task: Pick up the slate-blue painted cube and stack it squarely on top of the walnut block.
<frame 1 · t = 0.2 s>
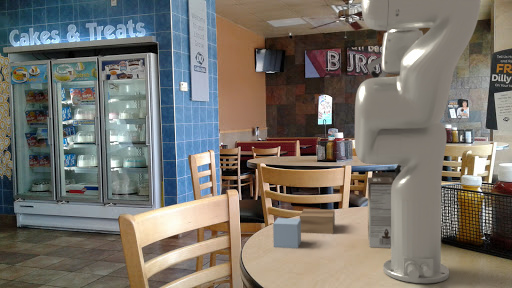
hand: (402, 96, 113), 36 cm above the table, tool pointing down, fingers open, 9 cm apart
coffee box: (381, 243, 114), on the table
walnut block: (317, 230, 128), on the table
slate cube: (287, 244, 114), on the table
coffeepot: (413, 215, 144), on the table
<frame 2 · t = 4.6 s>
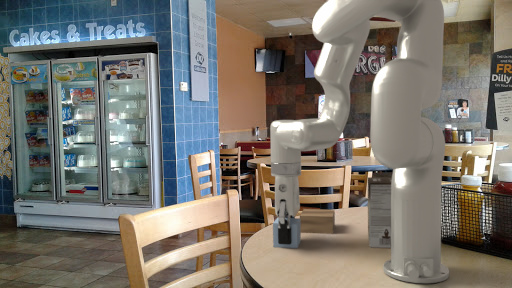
hand: (287, 239, 114), 1 cm above the table, tool pointing down, fingers closed on slate cube, 6 cm apart
slate cube: (287, 244, 114), on the table, touching gripper
everything else where it was.
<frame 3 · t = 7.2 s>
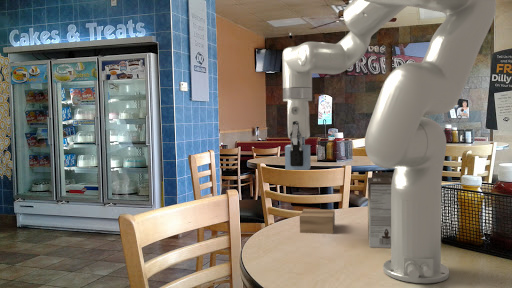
hand: (298, 163, 118), 20 cm above the table, tool pointing down, fingers closed on slate cube, 6 cm apart
slate cube: (298, 168, 118), point 18 cm above the table, touching gripper
everything else where it was.
when the fingers open (7 cm above the table, at t = 9.9 s): slate cube drops 2 cm, resting on walnut block.
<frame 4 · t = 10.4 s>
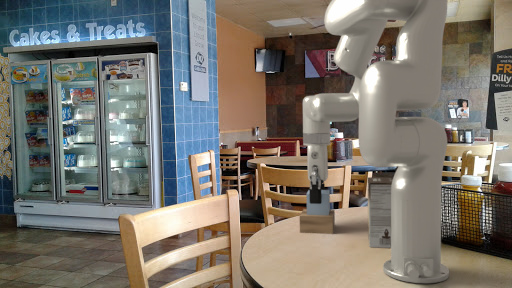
hand: (317, 200, 128), 8 cm above the table, tool pointing down, fingers open, 9 cm apart
walnut block: (317, 230, 128), on the table, touching slate cube
slate cube: (318, 212, 128), point 5 cm above the table, touching walnut block
everything else where it was.
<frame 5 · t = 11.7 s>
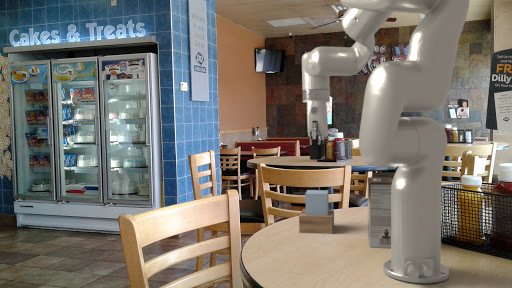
hand: (317, 158, 126), 20 cm above the table, tool pointing down, fingers open, 9 cm apart
nothing on the table moved.
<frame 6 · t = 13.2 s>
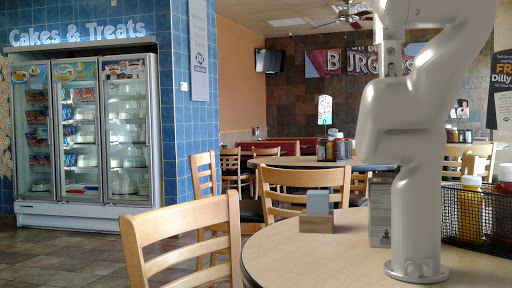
hand: (389, 107, 113), 34 cm above the table, tool pointing down, fingers open, 9 cm apart
nothing on the table moved.
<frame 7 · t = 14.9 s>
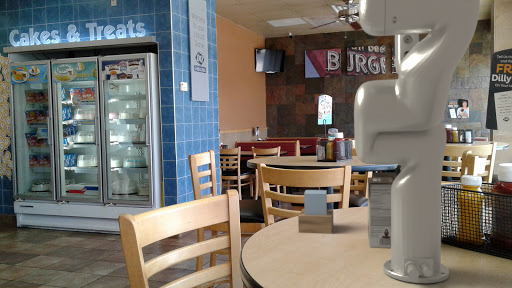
hand: (405, 97, 111), 36 cm above the table, tool pointing down, fingers open, 9 cm apart
nothing on the table moved.
at the end: slate cube 0.2 cm off-centre on the walnut block, point 5.0 cm above the walnut block's base; slate cube tilted 0°; the gripper is holding nothing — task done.
